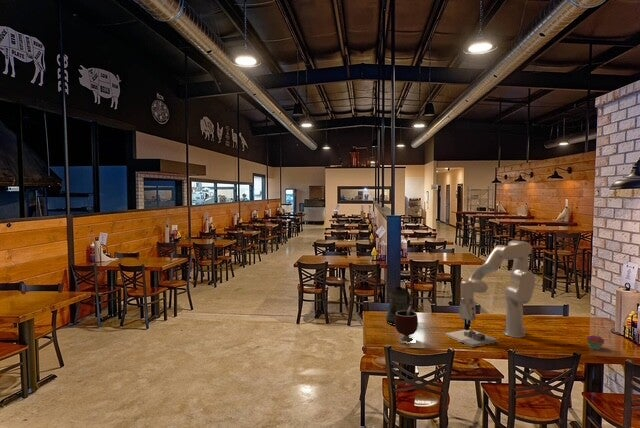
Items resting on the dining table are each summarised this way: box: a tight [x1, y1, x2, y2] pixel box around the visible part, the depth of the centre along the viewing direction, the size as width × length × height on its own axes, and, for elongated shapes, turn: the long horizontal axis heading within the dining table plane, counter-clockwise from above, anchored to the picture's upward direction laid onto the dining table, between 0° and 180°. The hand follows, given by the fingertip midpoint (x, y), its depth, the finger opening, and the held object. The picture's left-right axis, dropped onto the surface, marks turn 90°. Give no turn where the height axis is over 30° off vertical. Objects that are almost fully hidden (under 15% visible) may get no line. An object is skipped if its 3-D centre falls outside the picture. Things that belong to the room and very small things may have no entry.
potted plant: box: [385, 286, 412, 324], centre depth 286 cm, size 16×19×25 cm
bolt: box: [468, 325, 481, 339], centre depth 247 cm, size 10×2×6 cm, turn 24°
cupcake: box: [586, 328, 605, 351], centre depth 231 cm, size 9×8×12 cm
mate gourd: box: [394, 305, 419, 342], centre depth 249 cm, size 16×14×20 cm
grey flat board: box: [445, 329, 498, 348], centre depth 249 cm, size 22×20×5 cm
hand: (467, 329), depth 252 cm, fingers closed
